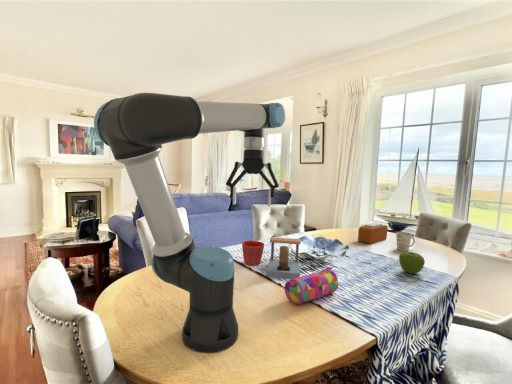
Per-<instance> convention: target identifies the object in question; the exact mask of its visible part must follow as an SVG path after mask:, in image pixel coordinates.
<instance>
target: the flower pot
mask: <svg viewBox="0 0 512 384" xmlns="http://www.w3.org/2000/svg"><path fill="white" fill-rule="evenodd" d="M241 248H242V256H243V261H244V264H245V265H247V266H250V267H251V266H259V265H260V264H261V262H262V258H263V253H264V248H265V243H264V242H262V241H259V240H245V241H243V242H242V243H241Z"/></svg>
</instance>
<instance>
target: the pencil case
mask: <svg viewBox="0 0 512 384" xmlns="http://www.w3.org/2000/svg"><path fill="white" fill-rule="evenodd" d="M332 269H333V268H332V267H331V266H326V268H323V269H321V270H318V271H317V272H315V273H311V274H306V275H302V276H301V275H300V277H296V278H293V279H289V280H287V281H285V284H284V294H285V296H286V298H287V300H288V301H289V302H290V303H292V304H293V305H295V306H299V305H301V304H303V303H308V302H311V301H313V300H316V299H319V298H321V297H324V296H327V295H331V294H332V293H335V292H336V291H338V290H337V289H338V287H339V280H338V276H337V274H336V272H334V271H332Z"/></svg>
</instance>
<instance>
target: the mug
mask: <svg viewBox="0 0 512 384" xmlns="http://www.w3.org/2000/svg"><path fill="white" fill-rule="evenodd" d="M395 234H396V249H397V250H399V251H403V252H409V249H410V248H411V247H413V246H414V244H416V238H415V237H414V236H413V235H412V233H410V232H405V231H396V233H395ZM411 241H412V242H411ZM410 244H411V245H410Z"/></svg>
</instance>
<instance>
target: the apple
mask: <svg viewBox="0 0 512 384" xmlns="http://www.w3.org/2000/svg"><path fill="white" fill-rule="evenodd" d="M398 260H399V264H400V268H401V269H402V270H403V272H405V273H406V274H410V275H415V274H417V273H419V272H421V270H423V268H424V266H425V261H426V260H425V258H424V256H422V255H421V254H419V253H416V252H412V251H403V252H401V253H400V254H399V256H398Z"/></svg>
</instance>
